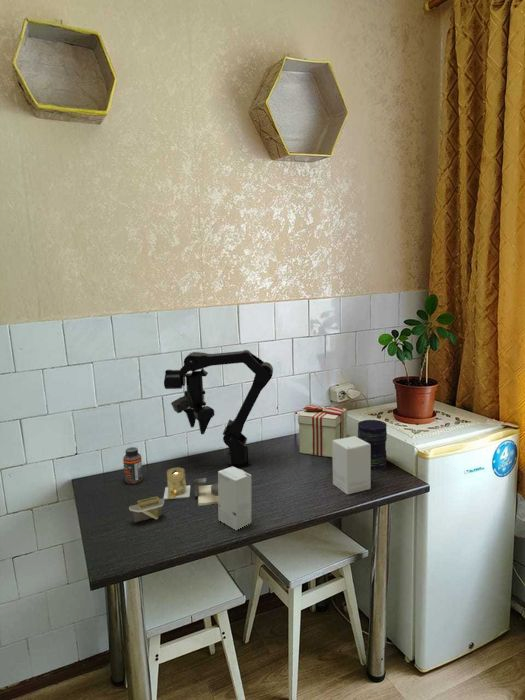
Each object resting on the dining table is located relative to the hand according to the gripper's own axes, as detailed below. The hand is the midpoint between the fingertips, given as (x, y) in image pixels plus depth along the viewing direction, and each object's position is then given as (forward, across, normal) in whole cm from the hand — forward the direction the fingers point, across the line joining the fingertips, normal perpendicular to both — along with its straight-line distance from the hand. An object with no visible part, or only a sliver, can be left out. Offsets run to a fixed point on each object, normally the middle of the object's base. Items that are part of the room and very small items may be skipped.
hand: (197, 430), depth 178 cm
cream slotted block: (+13, +26, -5) cm, 29 cm away
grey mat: (+13, +17, -15) cm, 26 cm away
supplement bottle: (+13, 0, -24) cm, 27 cm away
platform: (+14, +29, -28) cm, 42 cm away
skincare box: (+13, +44, -8) cm, 47 cm away
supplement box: (+13, +45, +33) cm, 57 cm away
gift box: (+13, +13, +46) cm, 50 cm away
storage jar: (+13, +36, +50) cm, 63 cm away
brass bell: (+12, +17, -15) cm, 26 cm away
